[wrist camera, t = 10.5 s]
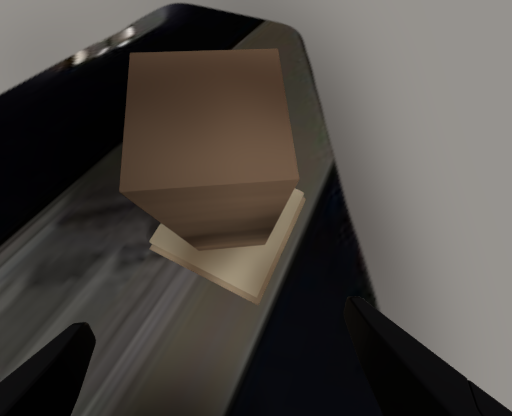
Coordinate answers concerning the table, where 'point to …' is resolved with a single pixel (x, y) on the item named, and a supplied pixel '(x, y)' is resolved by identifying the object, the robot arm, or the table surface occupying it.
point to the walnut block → (209, 144)
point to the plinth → (234, 255)
